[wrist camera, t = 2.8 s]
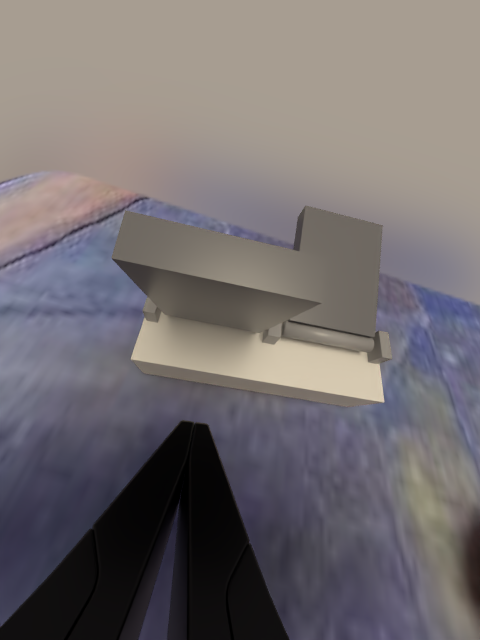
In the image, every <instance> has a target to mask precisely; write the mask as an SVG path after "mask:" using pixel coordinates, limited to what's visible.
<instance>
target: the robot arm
mask: <svg viewBox="0 0 480 640" xmlns="http://www.w3.org/2000/svg"><path fill="white" fill-rule="evenodd" d="M193 429H194V430H193ZM192 434H193V435H192ZM185 470H186V471H185ZM184 475H185V476H184ZM183 480H184V481H183ZM182 485H183V486H182ZM181 490H182V491H181ZM180 495H181V497H180ZM179 500H180V503H179ZM178 504H179V511H178V521H177V533H176V544H175V556H174V567H173V578H172V590H171V601H170V613H169V624H168V635H167V640H290V639H289V637H288V635H287V633H286V631H285V628H284V626H283V624H282V621H281V619H280V617H279V615H278V612H277V610H276V608H275V605H274V603H273V601H272V598H271V596H270V594H269V591H268V589H267V586H266V583H265V581H264V578H263V575H262V573H261V570H260V568H259V565H258V562H257V560H256V557H255V554H254V551H253V548H252V545H251V544H249V537H248V535H247V532H246V529H245V526H244V523H243V521H242V518H241V515H240V512H239V509H238V507H237V504H236V501H235V498H234V495H233V492H232V490H231V487H230V484H229V481H228V478H227V476H226V473H225V470H224V467H223V464H222V461H221V459H220V456H219V453H218V450H217V447H216V445H215V442H214V439H213V436H212V433H211V431H210V428H209V425H208V424H206V423H199V422H196V423H195V425H194V422H192V421H185V420H182V421H181V422H180V423H179V424H178V425H177V426H176V427H175V428H174V430H173V431H172V432H171V433H170V434H169V436H168V437H167V438H166V439H165V440H164V441H163V443H162V444H161V445H160V446H159V447H158V449H157V450H156V451H155V452H154V453H153V455H152V456H151V457H150V458H149V459H148V460H147V462H146V463H145V464H144V465H143V466H142V468H141V469H140V470H139V471H138V472H137V473H136V475H135V476H134V477H133V478H132V479H131V481H130V482H129V483H128V484H127V485H126V487H125V488H124V489H123V490H122V491H121V492H120V494H119V495H118V496H117V497H116V498H115V500H114V501H113V502H112V503H111V504H110V506H109V507H108V508H107V509H106V510H105V511H104V513H103V514H102V515H101V516H100V517H99V519H98V520H97V521H96V522H95V523H94V524H93V527H92V529H89V530H88V531H87V533H86V534H85V535H84V536H83V537H82V538H81V540H80V541H79V542H78V543H77V544H76V546H75V547H74V548H73V549H72V550H71V551H70V552H69V554H68V555H67V556H66V557H65V558H64V559H63V560H62V562H61V563H60V564H59V565H58V566H57V567H56V568H55V570H54V571H53V572H52V573H51V574H50V575H49V576H48V577H47V579H46V580H45V581H44V582H43V583H42V584H41V585H40V586H39V587H38V588H37V589H36V590H35V591H34V592H33V593H32V594H31V595H30V597H29V598H28V599H27V600H26V601H25V602H24V603H23V604H22V605H21V606H20V607H19V608H18V609H17V610H16V611H15V612H14V613H13V614H12V615H11V617H10V618H9V619H8V620H7V621H6V622H5V623H4V624H3V625H2V626H1V627H0V640H138V638H139V634H140V631H141V628H142V624H143V621H144V618H145V614H146V611H147V608H148V605H149V601H150V598H151V595H152V591H153V588H154V585H155V581H156V578H157V575H158V571H159V568H160V565H161V562H162V558H163V555H164V552H165V548H166V545H167V542H168V538H169V535H170V532H171V528H172V525H173V522H174V518H175V515H176V512H177V508H178Z"/></svg>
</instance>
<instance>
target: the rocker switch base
mask: <svg viewBox="0 0 480 640" xmlns="http://www.w3.org/2000/svg"><path fill="white" fill-rule="evenodd" d="M143 313H144V316H145V318H144V321H143V324H142V327H141V330H140V333H139V336H138V339H137V342H136V345H135V348H134V351H133V354H132V357H131V360H132V361H133V362H134V363H135V365H136V366H137V367H138V368H139V369H140V370H141V371H142V372H143V373H145V374H151V375H157V376H163V377H169V378H175V379H181V380H187V381H193V382H199V383H205V384H211V385H217V386H223V387H229V388H235V389H241V390H247V391H253V392H260V393H266V394H272V395H278V396H284V397H290V398H296V399H302V400H308V401H314V402H320V403H326V404H332V405H338V406H344V407H353V406H361V405H368V404H376V403H384V396H383V388H382V381H381V373H380V365H379V363H382V362H385V361H388V360H391V359H392V355H391V348H390V341H389V335H388V333H387V332H382V331H378V332H376V333H375V337H372V339H373V340H374V348H373V350H372V351H371V352H369V353H367V352H362V351H356V350H351V349H346V348H341V347H336V346H331V345H325V344H320V343H315V342H310V341H305V340H300V339H294V338H289V337H284V336H281V328H282V324H283V322H282V323H280V324H278V325H276V326H274V327H271V328H269V329H267V330H265V331H263V332H261V333H256V332H251V331H246V330H241V329H236V328H230V327H225V326H220V325H215V324H210V323H204V322H199V321H194V320H189V319H184V318H179V317H173V316H168V315H165V314H164V313H163V312H162V311H161V310H160V309H159V308H158V307H157V306H156V305H155V304H154V303H153V302H152V301H151V300H150V298H149V297H147V299H146V302H145V305H144V308H143Z"/></svg>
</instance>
